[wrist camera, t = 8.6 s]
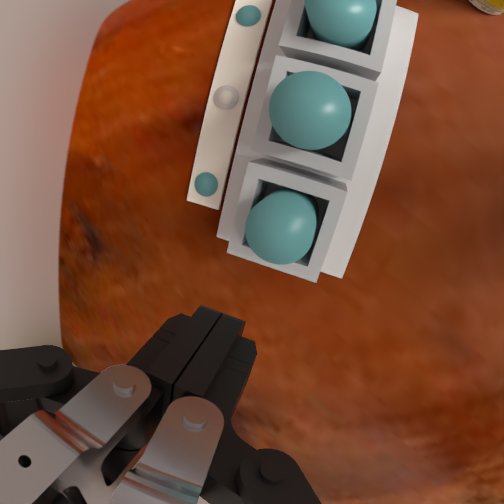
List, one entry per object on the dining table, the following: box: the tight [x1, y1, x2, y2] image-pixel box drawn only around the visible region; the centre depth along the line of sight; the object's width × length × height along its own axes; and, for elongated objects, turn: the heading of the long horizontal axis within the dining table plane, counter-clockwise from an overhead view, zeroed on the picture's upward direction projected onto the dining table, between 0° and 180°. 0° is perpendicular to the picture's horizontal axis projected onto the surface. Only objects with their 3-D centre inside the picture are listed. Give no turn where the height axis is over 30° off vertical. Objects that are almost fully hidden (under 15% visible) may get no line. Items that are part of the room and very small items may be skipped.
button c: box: [245, 186, 319, 265], centre depth 24 cm, size 5×5×6 cm
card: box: [187, 0, 273, 210], centre depth 25 cm, size 3×20×1 cm, turn 166°
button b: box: [269, 71, 351, 150], centre depth 19 cm, size 5×5×6 cm
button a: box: [305, 0, 377, 52], centre depth 18 cm, size 5×5×6 cm
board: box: [216, 0, 418, 283], centre depth 22 cm, size 12×25×5 cm, turn 166°
